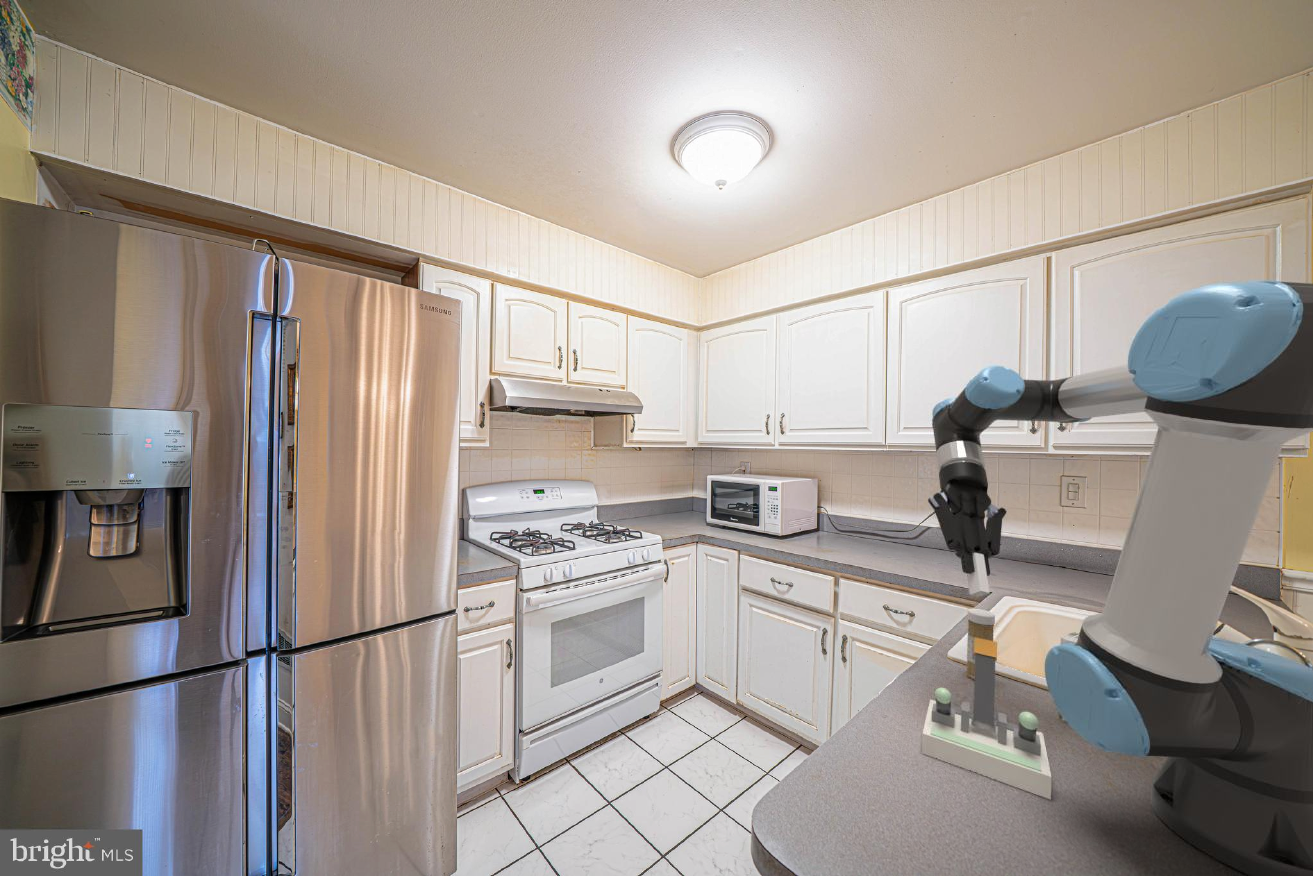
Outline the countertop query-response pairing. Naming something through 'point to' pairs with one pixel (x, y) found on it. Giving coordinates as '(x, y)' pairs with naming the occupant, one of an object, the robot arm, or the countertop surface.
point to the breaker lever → (984, 684)
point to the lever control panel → (988, 745)
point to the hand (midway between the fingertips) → (979, 593)
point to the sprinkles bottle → (978, 634)
